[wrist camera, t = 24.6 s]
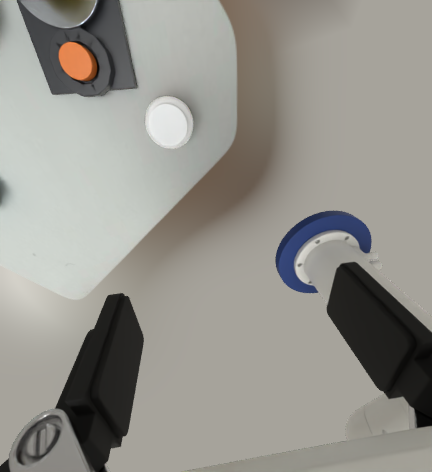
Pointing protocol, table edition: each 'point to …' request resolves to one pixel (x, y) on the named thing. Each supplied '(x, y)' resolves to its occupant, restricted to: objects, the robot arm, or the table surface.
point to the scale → (96, 41)
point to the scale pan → (62, 11)
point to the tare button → (77, 61)
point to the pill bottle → (169, 122)
